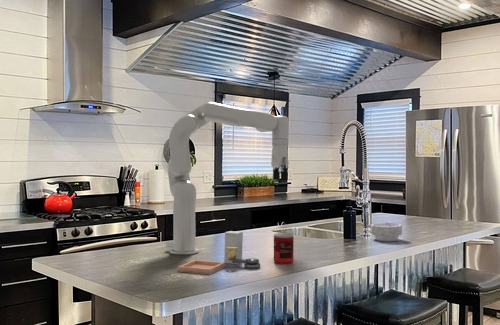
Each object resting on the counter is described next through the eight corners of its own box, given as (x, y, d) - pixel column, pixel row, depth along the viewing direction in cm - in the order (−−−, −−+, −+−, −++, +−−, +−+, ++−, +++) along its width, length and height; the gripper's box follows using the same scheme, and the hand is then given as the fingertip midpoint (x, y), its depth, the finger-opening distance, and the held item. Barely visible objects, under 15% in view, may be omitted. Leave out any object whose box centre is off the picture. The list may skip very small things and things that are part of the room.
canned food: (281, 259, 205) (281, 232, 205) (297, 262, 200) (297, 234, 200) (269, 262, 199) (269, 234, 199) (286, 265, 194) (286, 236, 194)
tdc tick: (229, 272, 182) (229, 271, 182) (228, 271, 183) (228, 270, 183) (234, 271, 184) (234, 270, 184) (232, 270, 184) (232, 270, 184)
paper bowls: (364, 240, 254) (364, 224, 254) (381, 236, 264) (381, 221, 264) (390, 243, 243) (390, 227, 243) (408, 240, 253) (408, 224, 253)
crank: (259, 261, 193) (259, 246, 193) (258, 264, 188) (258, 248, 188) (227, 261, 193) (227, 246, 193) (226, 264, 188) (226, 248, 188)
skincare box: (223, 263, 198) (223, 232, 198) (229, 261, 202) (229, 230, 202) (237, 264, 195) (237, 233, 195) (243, 262, 199) (243, 231, 199)
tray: (177, 271, 184) (177, 266, 184) (195, 264, 196) (195, 259, 196) (209, 274, 179) (209, 269, 179) (225, 267, 191) (225, 262, 191)
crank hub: (241, 268, 189) (241, 264, 189) (248, 265, 194) (248, 261, 194) (256, 269, 187) (256, 265, 187) (262, 266, 192) (262, 262, 192)
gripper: (266, 143, 241) (266, 179, 241) (279, 142, 224) (279, 180, 225) (280, 143, 243) (280, 179, 243) (295, 142, 227) (295, 180, 227)
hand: (280, 180), depth 234 cm, fingers open, 9 cm apart
